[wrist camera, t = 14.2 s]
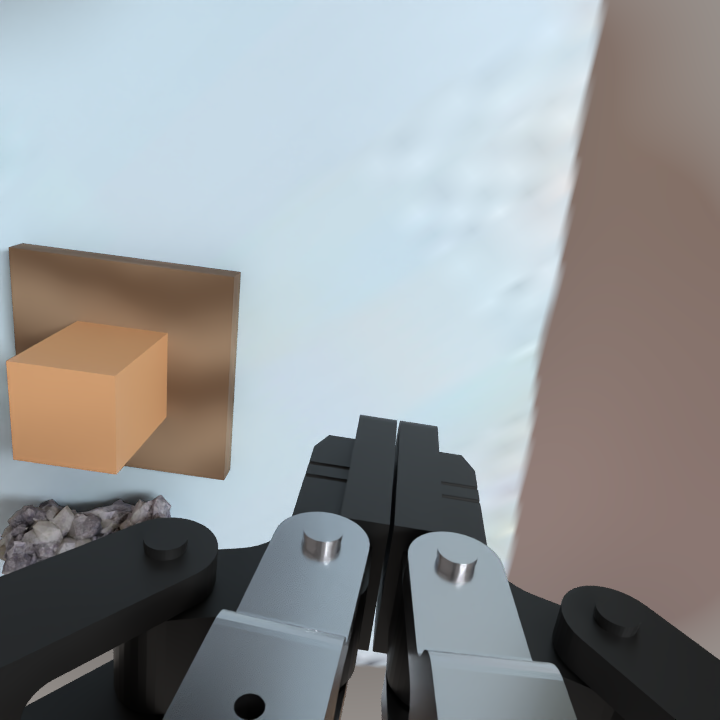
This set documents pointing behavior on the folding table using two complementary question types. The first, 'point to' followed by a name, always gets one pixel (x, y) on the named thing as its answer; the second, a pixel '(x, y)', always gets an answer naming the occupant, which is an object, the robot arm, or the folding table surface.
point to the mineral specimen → (68, 528)
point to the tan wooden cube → (87, 396)
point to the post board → (153, 313)
